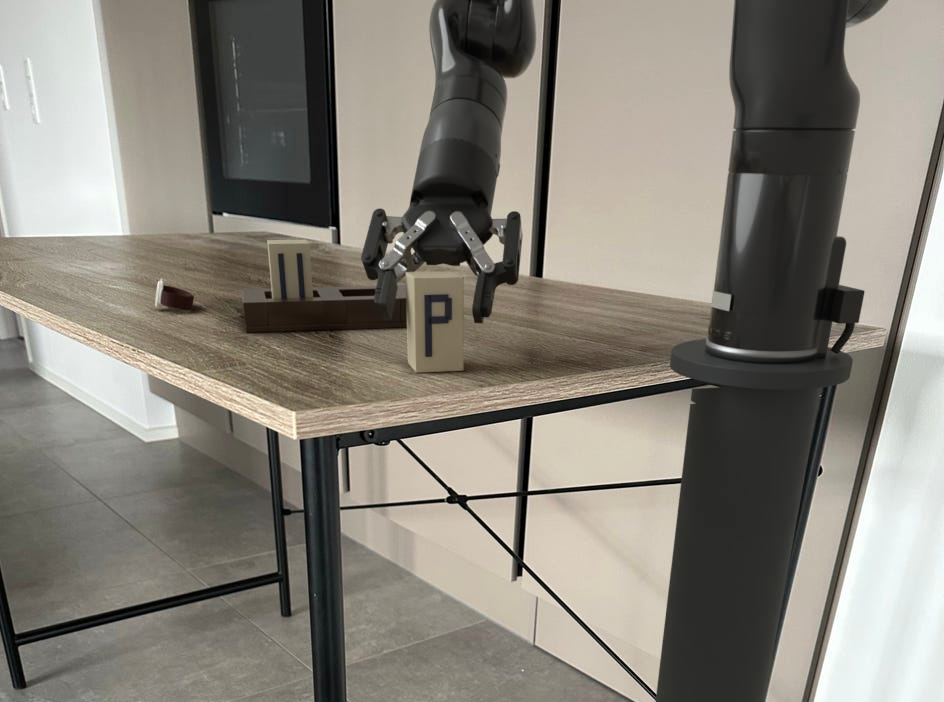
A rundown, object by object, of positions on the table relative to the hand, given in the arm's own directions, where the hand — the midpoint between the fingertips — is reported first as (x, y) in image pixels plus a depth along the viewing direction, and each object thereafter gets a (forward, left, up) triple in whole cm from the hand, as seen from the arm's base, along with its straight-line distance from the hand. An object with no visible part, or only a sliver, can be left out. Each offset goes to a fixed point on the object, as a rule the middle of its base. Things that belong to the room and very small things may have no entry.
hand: (430, 315), depth 83 cm
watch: (+24, -41, -5) cm, 48 cm away
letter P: (-1, -1, -5) cm, 5 cm away
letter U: (+11, -28, -4) cm, 30 cm away
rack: (+6, -28, -5) cm, 29 cm away
